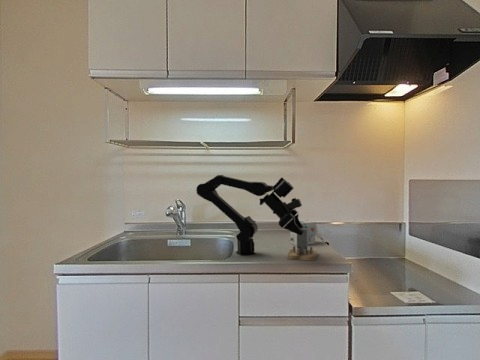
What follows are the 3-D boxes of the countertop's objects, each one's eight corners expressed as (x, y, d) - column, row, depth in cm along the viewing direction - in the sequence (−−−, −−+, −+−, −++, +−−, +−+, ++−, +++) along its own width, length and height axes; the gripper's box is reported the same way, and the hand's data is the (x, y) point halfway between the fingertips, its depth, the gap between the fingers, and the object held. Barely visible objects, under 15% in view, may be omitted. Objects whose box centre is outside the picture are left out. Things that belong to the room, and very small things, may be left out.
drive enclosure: (297, 253, 151) (296, 229, 150) (298, 251, 155) (298, 227, 155) (307, 254, 150) (306, 229, 149) (308, 251, 154) (307, 227, 154)
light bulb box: (297, 246, 174) (297, 223, 173) (289, 243, 180) (289, 221, 180) (315, 243, 178) (315, 221, 178) (307, 241, 184) (307, 220, 184)
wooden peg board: (287, 259, 148) (287, 249, 148) (291, 252, 160) (291, 243, 160) (315, 260, 145) (315, 250, 145) (317, 253, 157) (317, 244, 157)
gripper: (286, 193, 144) (315, 222, 142) (293, 190, 162) (318, 216, 160) (267, 212, 147) (295, 241, 144) (275, 208, 164) (300, 233, 162)
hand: (303, 232), depth 152 cm, fingers open, 9 cm apart
